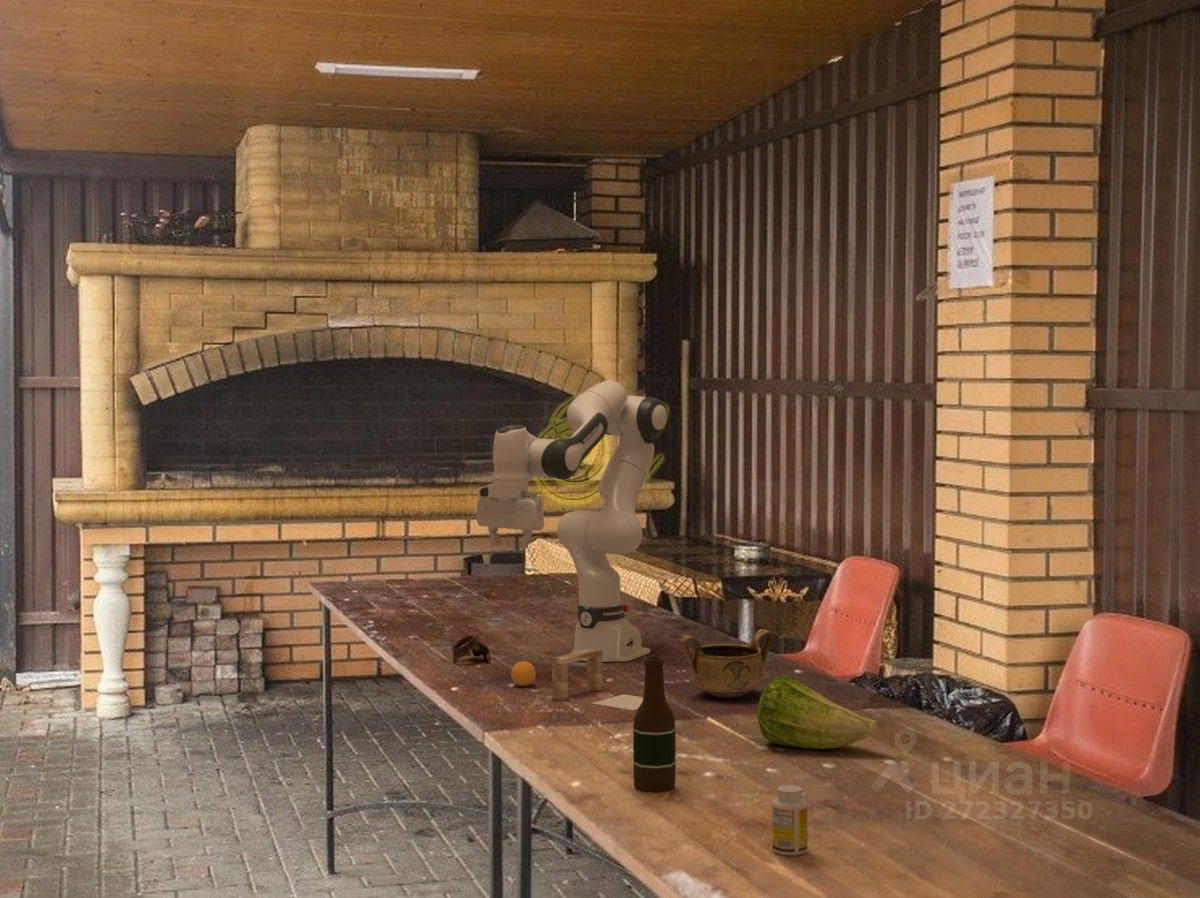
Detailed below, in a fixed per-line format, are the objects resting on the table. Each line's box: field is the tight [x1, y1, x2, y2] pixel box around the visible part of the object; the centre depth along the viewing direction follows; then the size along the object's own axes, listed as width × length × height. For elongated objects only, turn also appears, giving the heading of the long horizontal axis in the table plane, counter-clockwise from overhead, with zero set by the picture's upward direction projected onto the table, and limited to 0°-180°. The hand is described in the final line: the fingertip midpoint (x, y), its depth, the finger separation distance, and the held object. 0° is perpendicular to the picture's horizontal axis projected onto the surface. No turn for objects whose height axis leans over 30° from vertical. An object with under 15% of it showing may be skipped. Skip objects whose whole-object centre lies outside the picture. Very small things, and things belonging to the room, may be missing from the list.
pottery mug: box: [451, 634, 492, 664], centre depth 416 cm, size 12×10×8 cm
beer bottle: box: [632, 656, 677, 793], centre depth 290 cm, size 8×8×24 cm
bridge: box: [551, 649, 604, 702], centre depth 372 cm, size 3×15×10 cm, turn 142°
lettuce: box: [756, 674, 878, 750], centre depth 319 cm, size 14×24×15 cm
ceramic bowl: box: [679, 628, 774, 699], centre depth 370 cm, size 22×17×15 cm
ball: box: [510, 660, 537, 687], centre depth 383 cm, size 6×6×6 cm
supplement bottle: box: [771, 784, 809, 857], centre depth 251 cm, size 6×6×10 cm
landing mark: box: [591, 694, 643, 712], centre depth 363 cm, size 12×12×1 cm
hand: (509, 546), depth 390 cm, fingers open, 8 cm apart
